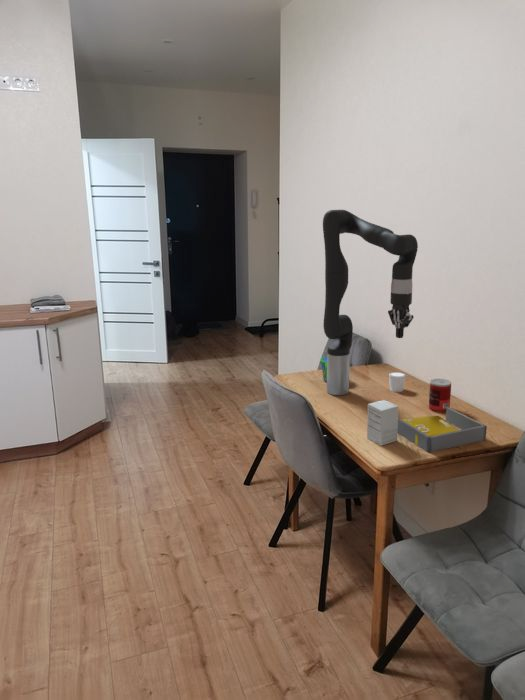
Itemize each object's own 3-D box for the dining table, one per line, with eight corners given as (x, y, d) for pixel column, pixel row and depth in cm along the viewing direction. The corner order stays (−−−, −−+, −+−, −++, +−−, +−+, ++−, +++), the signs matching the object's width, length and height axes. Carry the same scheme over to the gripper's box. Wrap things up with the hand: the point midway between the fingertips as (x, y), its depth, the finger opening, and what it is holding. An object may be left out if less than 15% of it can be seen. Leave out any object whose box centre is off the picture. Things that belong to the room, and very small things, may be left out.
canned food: (450, 406, 203) (452, 379, 200) (448, 413, 196) (450, 386, 193) (430, 403, 206) (431, 377, 203) (427, 410, 199) (428, 383, 196)
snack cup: (335, 387, 228) (336, 365, 225) (313, 383, 233) (313, 362, 231) (349, 377, 241) (349, 356, 238) (328, 374, 246) (328, 353, 244)
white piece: (405, 392, 219) (406, 377, 217) (388, 392, 220) (389, 376, 218) (404, 387, 225) (405, 372, 223) (388, 386, 227) (388, 371, 225)
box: (394, 430, 182) (395, 417, 181) (447, 420, 190) (448, 407, 188) (428, 452, 165) (429, 438, 164) (485, 439, 173) (486, 426, 172)
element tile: (460, 443, 172) (461, 430, 170) (418, 448, 169) (419, 434, 168) (438, 426, 186) (439, 413, 185) (398, 430, 184) (399, 417, 182)
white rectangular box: (382, 433, 180) (384, 399, 177) (397, 441, 174) (399, 405, 171) (366, 438, 177) (367, 403, 174) (380, 446, 171) (381, 410, 167)
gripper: (382, 289, 193) (380, 335, 197) (403, 294, 181) (401, 342, 185) (399, 288, 195) (397, 332, 200) (421, 292, 183) (419, 340, 188)
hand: (399, 337), depth 192 cm, fingers closed
